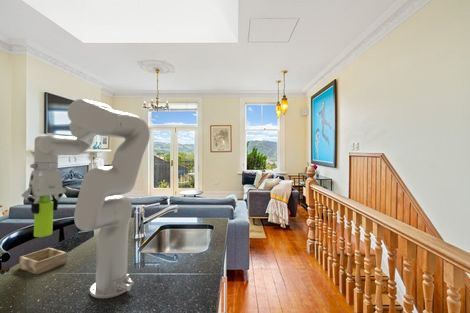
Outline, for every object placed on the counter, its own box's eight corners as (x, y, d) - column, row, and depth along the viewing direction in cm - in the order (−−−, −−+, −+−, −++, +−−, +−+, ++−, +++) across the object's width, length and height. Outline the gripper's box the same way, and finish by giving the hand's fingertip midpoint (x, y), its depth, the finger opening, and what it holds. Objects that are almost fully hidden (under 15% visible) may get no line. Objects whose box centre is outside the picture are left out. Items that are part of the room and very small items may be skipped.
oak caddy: (66, 263, 98) (66, 252, 98) (36, 274, 88) (37, 262, 88) (49, 257, 103) (49, 247, 103) (19, 268, 93) (19, 256, 93)
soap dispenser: (44, 238, 92) (45, 186, 92) (29, 236, 93) (31, 185, 94) (58, 233, 98) (59, 184, 98) (44, 231, 99) (46, 184, 99)
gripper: (25, 168, 86) (24, 217, 86) (73, 166, 102) (72, 208, 102) (14, 167, 89) (13, 215, 89) (62, 166, 105) (61, 206, 105)
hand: (44, 211), depth 96 cm, fingers closed on soap dispenser, 5 cm apart
